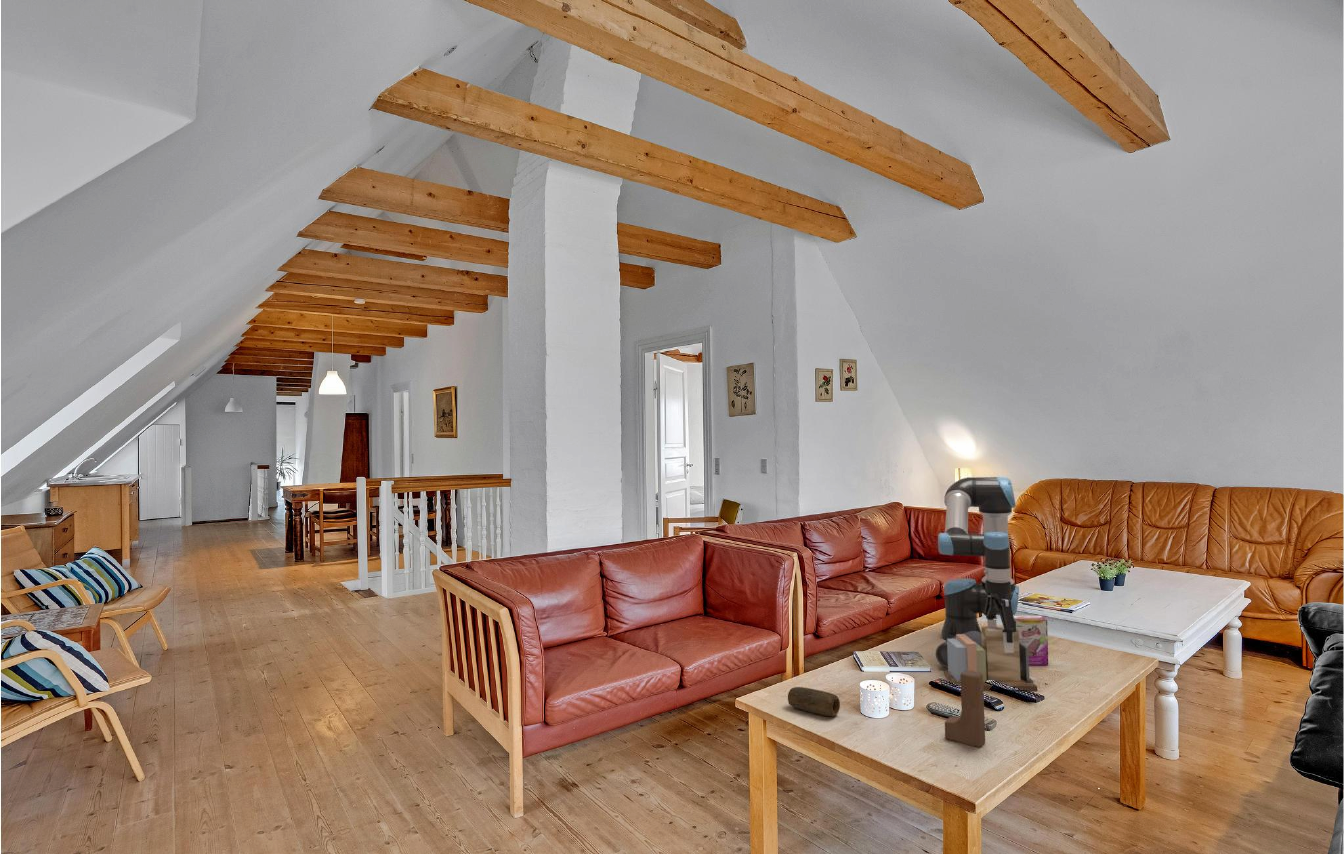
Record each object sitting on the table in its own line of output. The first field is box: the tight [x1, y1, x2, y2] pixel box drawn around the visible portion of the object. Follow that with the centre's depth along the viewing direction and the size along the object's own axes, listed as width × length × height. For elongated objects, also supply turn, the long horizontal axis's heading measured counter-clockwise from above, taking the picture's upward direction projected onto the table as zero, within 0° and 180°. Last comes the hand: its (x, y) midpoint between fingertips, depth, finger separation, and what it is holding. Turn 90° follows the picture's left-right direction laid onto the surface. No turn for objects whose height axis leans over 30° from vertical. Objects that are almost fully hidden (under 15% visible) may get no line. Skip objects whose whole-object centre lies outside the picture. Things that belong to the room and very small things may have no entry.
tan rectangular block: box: [980, 626, 1021, 681], centre depth 217 cm, size 5×10×16 cm, turn 84°
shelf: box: [943, 670, 1038, 692], centre depth 217 cm, size 14×24×2 cm, turn 84°
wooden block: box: [944, 670, 986, 748], centre depth 175 cm, size 9×4×18 cm, turn 50°
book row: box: [946, 634, 987, 682], centre depth 218 cm, size 11×9×12 cm
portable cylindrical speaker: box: [787, 686, 841, 717], centre depth 197 cm, size 15×7×7 cm, turn 53°
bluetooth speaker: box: [935, 631, 982, 669], centre depth 236 cm, size 23×9×10 cm, turn 131°
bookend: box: [1019, 642, 1035, 684], centre depth 216 cm, size 8×2×11 cm, turn 174°
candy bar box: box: [1013, 614, 1049, 666], centre depth 235 cm, size 11×5×16 cm, turn 84°
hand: (1000, 645), depth 217 cm, fingers open, 13 cm apart
